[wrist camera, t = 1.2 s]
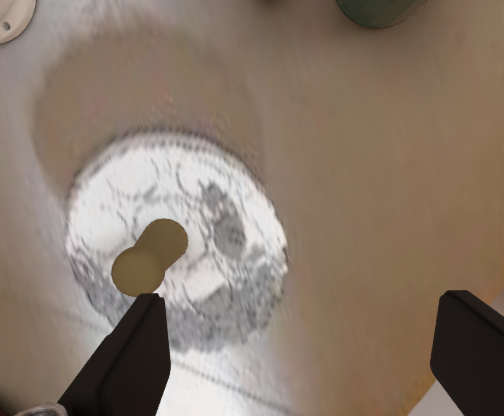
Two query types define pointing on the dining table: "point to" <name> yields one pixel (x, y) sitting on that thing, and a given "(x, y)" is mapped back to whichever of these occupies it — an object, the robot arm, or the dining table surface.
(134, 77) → the dining table surface
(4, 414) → the butternut squash
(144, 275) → the olive pawn
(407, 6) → the jar
